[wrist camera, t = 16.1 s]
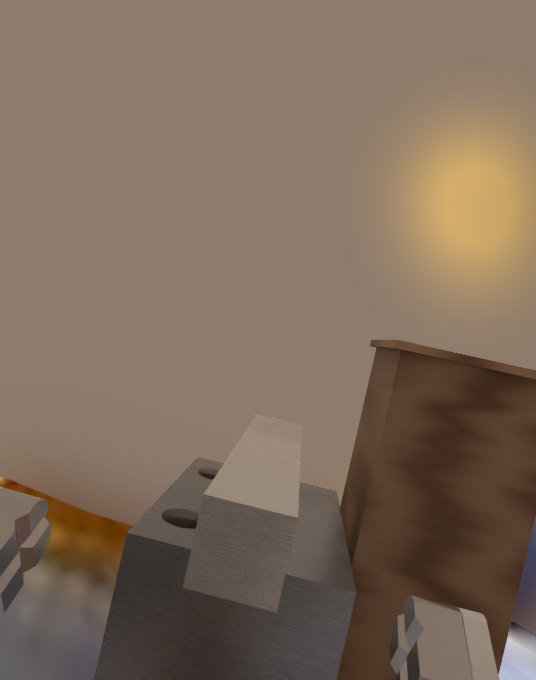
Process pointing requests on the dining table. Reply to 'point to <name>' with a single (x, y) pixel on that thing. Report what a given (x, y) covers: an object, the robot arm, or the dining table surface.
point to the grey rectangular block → (249, 518)
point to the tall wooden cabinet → (437, 494)
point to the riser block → (221, 614)
